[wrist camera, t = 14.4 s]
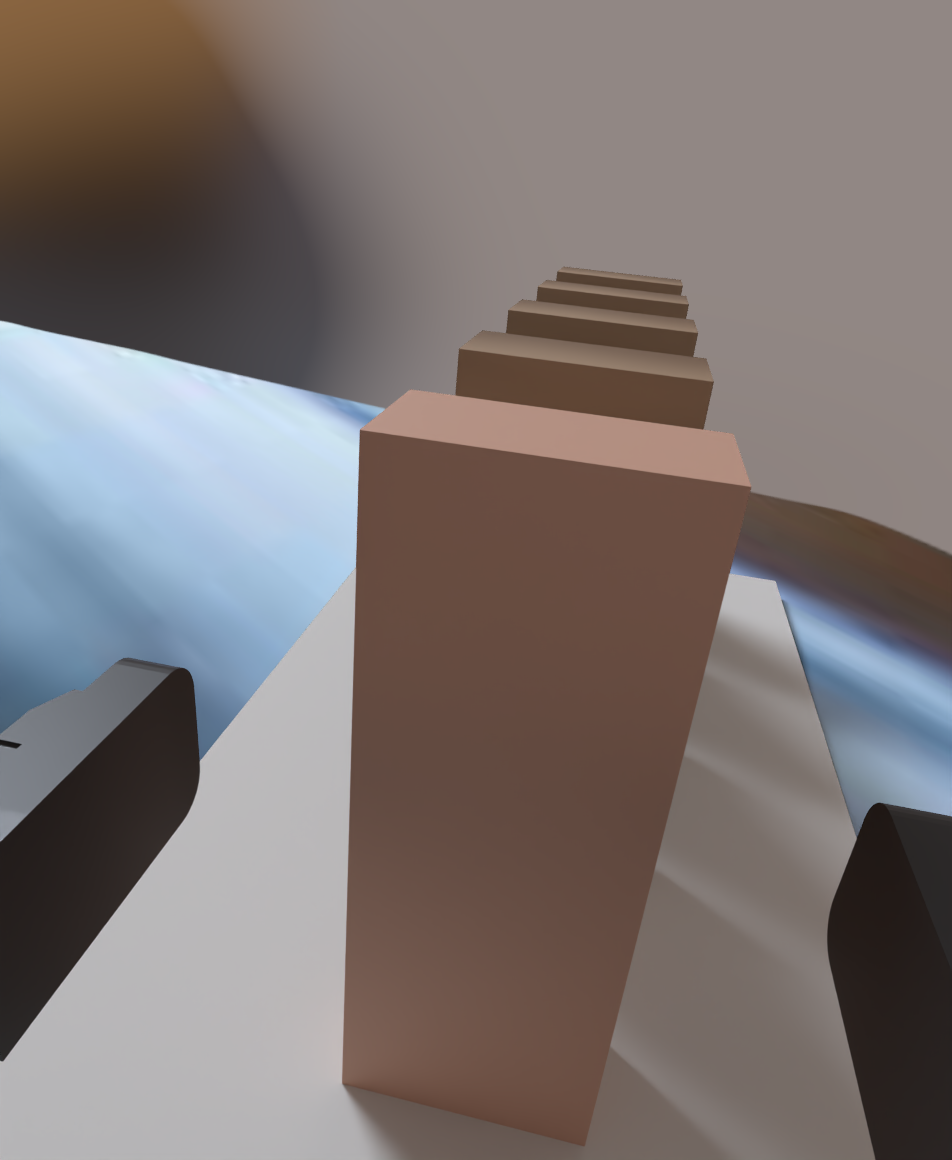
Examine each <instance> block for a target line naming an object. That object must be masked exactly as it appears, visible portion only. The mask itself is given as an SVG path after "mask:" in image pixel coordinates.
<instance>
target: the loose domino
mask: <svg viewBox="0 0 952 1160" xmlns="http://www.w3.org/2000/svg"><path fill="white" fill-rule="evenodd" d="M750 490H751V484H750V481H749V478H748V476H747V472H746V469H745V467H744V464H743V461H742V458H741V455H740V452H739V449H738V446H737V443H736V440H735V437H734V434H731V433H723V432H716V431H708V430H702V429H694V428H687V427H680V426H673V425H665V424H658V423H651V422H643V421H636V420H629V419H622V418H614V417H607V416H600V415H593V414H585V413H578V412H571V411H563V410H556V409H549V408H542V407H534V406H527V405H520V404H513V403H505V402H498V401H491V400H483V399H476V398H469V397H462V396H454V395H447V394H440V393H433V392H425V391H418V390H409V391H408V392H407V393H405V394H404V395H403V396H402V397H400V398H399V399H398V400H397V401H395V402H394V403H393V404H392V405H390V406H389V407H388V408H387V409H385V410H384V411H383V412H382V413H380V414H379V415H378V416H377V417H375V418H374V419H373V420H372V421H370V422H369V423H368V424H367V425H365V426H364V427H363V428H362V429H360V445H359V481H358V517H357V554H356V590H355V626H354V663H353V699H352V735H351V771H350V808H349V844H348V880H347V917H346V953H345V989H344V1025H343V1062H342V1084H345V1085H349V1086H353V1087H357V1088H361V1089H365V1090H368V1091H372V1092H376V1093H380V1094H384V1095H388V1096H392V1097H395V1098H399V1099H403V1100H407V1101H411V1102H415V1103H419V1104H422V1105H426V1106H430V1107H434V1108H438V1109H442V1110H446V1111H449V1112H453V1113H457V1114H461V1115H465V1116H469V1117H473V1118H477V1119H480V1120H484V1121H488V1122H492V1123H496V1124H500V1125H504V1126H507V1127H511V1128H515V1129H519V1130H523V1131H527V1132H531V1133H534V1134H538V1135H542V1136H546V1137H550V1138H554V1139H558V1140H561V1141H565V1142H569V1143H573V1144H577V1145H581V1146H585V1143H586V1139H587V1135H588V1131H589V1128H590V1124H591V1120H592V1116H593V1112H594V1108H595V1104H596V1100H597V1096H598V1092H599V1088H600V1084H601V1080H602V1076H603V1072H604V1068H605V1064H606V1060H607V1056H608V1052H609V1048H610V1044H611V1040H612V1037H613V1033H614V1029H615V1025H616V1021H617V1017H618V1013H619V1009H620V1005H621V1001H622V997H623V993H624V989H625V985H626V981H627V977H628V973H629V969H630V965H631V961H632V957H633V953H634V949H635V945H636V942H637V938H638V934H639V930H640V926H641V922H642V918H643V914H644V910H645V906H646V902H647V898H648V894H649V890H650V886H651V882H652V878H653V874H654V870H655V866H656V862H657V858H658V854H659V851H660V847H661V843H662V839H663V835H664V831H665V827H666V823H667V819H668V815H669V811H670V807H671V803H672V799H673V795H674V791H675V787H676V783H677V779H678V775H679V771H680V767H681V763H682V760H683V756H684V752H685V748H686V744H687V740H688V736H689V732H690V728H691V724H692V720H693V716H694V712H695V708H696V704H697V700H698V696H699V692H700V688H701V684H702V680H703V676H704V672H705V668H706V665H707V661H708V657H709V653H710V649H711V645H712V641H713V637H714V633H715V629H716V625H717V621H718V617H719V613H720V609H721V605H722V601H723V597H724V593H725V589H726V585H727V581H728V577H729V574H730V570H731V566H732V562H733V558H734V554H735V550H736V546H737V542H738V538H739V534H740V530H741V526H742V522H743V518H744V514H745V510H746V506H747V502H748V498H749V494H750Z"/></svg>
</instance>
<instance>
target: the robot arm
mask: <svg viewBox="0 0 952 1160" xmlns="http://www.w3.org/2000/svg"><path fill="white" fill-rule="evenodd" d="M199 778H200V760H199V747H198V733H197V720H196V706H195V693H194V683H193V679H192V676H191V674H190V672H189V671H188V670H186V669H185V668H180V667H174V666H169V665H164V664H159V663H153V662H148V661H143V660H138V659H132V658H123V659H121V660H119V661H118V662H116V663H115V664H114V665H113V666H111V667H110V668H109V669H108V670H107V671H106V672H104V673H103V674H102V675H101V676H100V677H99V678H98V679H96V680H95V681H94V682H93V683H92V684H91V685H90V686H88V687H87V688H86V689H85V690H84V691H79V690H72V691H70V692H68V693H65V694H63V695H61V696H59V697H57V698H55V699H53V700H50V701H48V702H46V703H44V704H42V705H40V706H38V707H36V708H33V709H31V710H29V711H28V712H27V713H26V714H24V715H23V716H22V717H21V718H20V719H18V720H17V721H16V722H15V723H13V724H12V725H11V726H10V727H9V728H7V729H6V730H5V731H4V732H3V733H1V734H0V1061H2V1062H3V1061H4V1060H5V1058H6V1057H7V1056H8V1054H9V1053H10V1052H11V1050H12V1049H13V1048H14V1046H15V1045H16V1044H17V1042H18V1041H19V1040H20V1038H21V1037H22V1036H23V1034H24V1033H25V1032H26V1030H27V1029H28V1028H29V1026H30V1025H31V1024H32V1022H33V1021H34V1020H35V1018H36V1017H37V1016H38V1014H39V1013H40V1012H41V1010H42V1009H43V1008H44V1006H45V1005H46V1004H47V1002H48V1001H49V1000H50V998H51V997H52V996H53V994H54V993H55V992H56V990H57V989H58V988H59V986H60V985H61V984H62V982H63V981H64V980H65V978H66V977H67V976H68V974H69V973H70V972H71V970H72V969H73V968H74V966H75V965H76V964H77V962H78V961H79V960H80V958H81V957H82V956H83V954H84V953H85V952H86V950H87V949H88V948H89V946H90V945H91V944H92V942H93V941H94V940H95V938H96V937H97V936H98V934H99V933H100V932H101V930H102V929H103V928H104V926H105V925H106V924H107V922H108V921H109V920H110V918H111V917H112V916H113V914H114V913H115V912H116V910H117V909H118V908H119V906H120V905H121V904H122V902H123V901H124V900H125V898H126V897H127V896H128V894H129V893H130V892H131V890H132V889H133V888H134V886H135V885H136V884H137V882H138V881H139V880H140V878H141V877H142V876H143V874H144V873H145V872H146V870H147V869H148V868H149V866H150V865H151V864H152V862H153V861H154V860H155V858H156V857H157V856H158V854H159V853H160V852H161V850H162V849H163V848H164V846H165V845H166V844H167V842H168V841H169V840H170V838H171V837H172V836H173V834H174V833H175V832H176V830H177V829H178V828H179V826H180V825H181V824H182V822H183V821H184V819H185V818H186V816H187V814H188V813H189V811H190V809H191V806H192V804H193V802H194V799H195V796H196V793H197V789H198V784H199ZM827 949H828V958H829V963H830V968H831V972H832V977H833V981H834V985H835V989H836V994H837V998H838V1002H839V1006H840V1011H841V1015H842V1019H843V1024H844V1028H845V1032H846V1036H847V1041H848V1045H849V1049H850V1053H851V1058H852V1062H853V1066H854V1071H855V1075H856V1079H857V1083H858V1088H859V1092H860V1096H861V1100H862V1105H863V1109H864V1113H865V1118H866V1122H867V1126H868V1130H869V1135H870V1139H871V1143H872V1147H873V1152H874V1156H875V1160H952V817H951V816H947V815H941V814H936V813H931V812H926V811H920V810H915V809H910V808H905V807H899V806H894V805H889V804H884V803H876V804H874V805H873V806H872V807H871V808H870V809H869V811H868V813H867V815H866V817H865V819H864V822H863V824H862V827H861V829H860V832H859V834H858V837H857V840H856V842H855V845H854V847H853V850H852V852H851V855H850V857H849V860H848V863H847V865H846V868H845V870H844V873H843V875H842V878H841V881H840V883H839V886H838V888H837V891H836V893H835V896H834V899H833V902H832V905H831V909H830V913H829V919H828V929H827Z"/></svg>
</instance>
